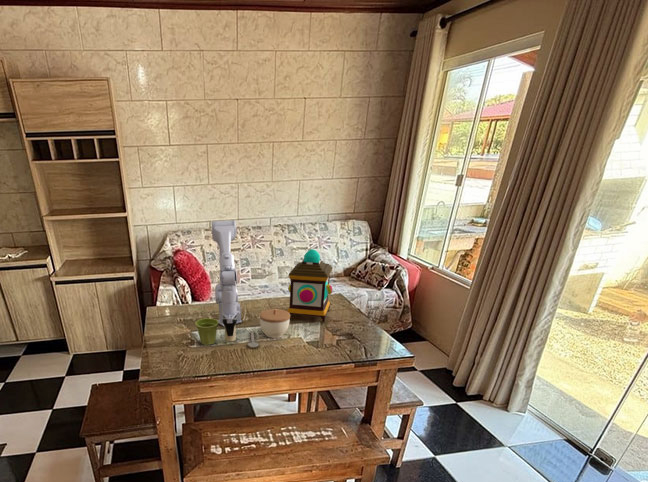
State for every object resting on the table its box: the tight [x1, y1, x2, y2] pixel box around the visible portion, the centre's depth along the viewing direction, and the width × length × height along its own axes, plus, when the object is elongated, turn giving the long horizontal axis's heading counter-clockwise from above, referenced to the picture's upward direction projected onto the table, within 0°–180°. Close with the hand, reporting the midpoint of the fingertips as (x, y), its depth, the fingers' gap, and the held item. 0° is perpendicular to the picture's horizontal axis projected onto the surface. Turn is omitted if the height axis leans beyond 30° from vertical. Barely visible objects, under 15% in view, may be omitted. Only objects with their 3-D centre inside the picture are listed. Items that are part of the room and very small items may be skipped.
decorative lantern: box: [286, 248, 334, 324], centre depth 183 cm, size 20×20×30 cm
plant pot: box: [194, 317, 219, 346], centre depth 165 cm, size 9×9×9 cm
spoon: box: [247, 331, 260, 349], centre depth 167 cm, size 15×4×1 cm, turn 179°
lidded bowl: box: [259, 308, 291, 339], centre depth 169 cm, size 13×13×11 cm
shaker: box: [224, 317, 237, 342], centre depth 164 cm, size 5×5×9 cm
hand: (230, 333), depth 165 cm, fingers closed on shaker, 4 cm apart
